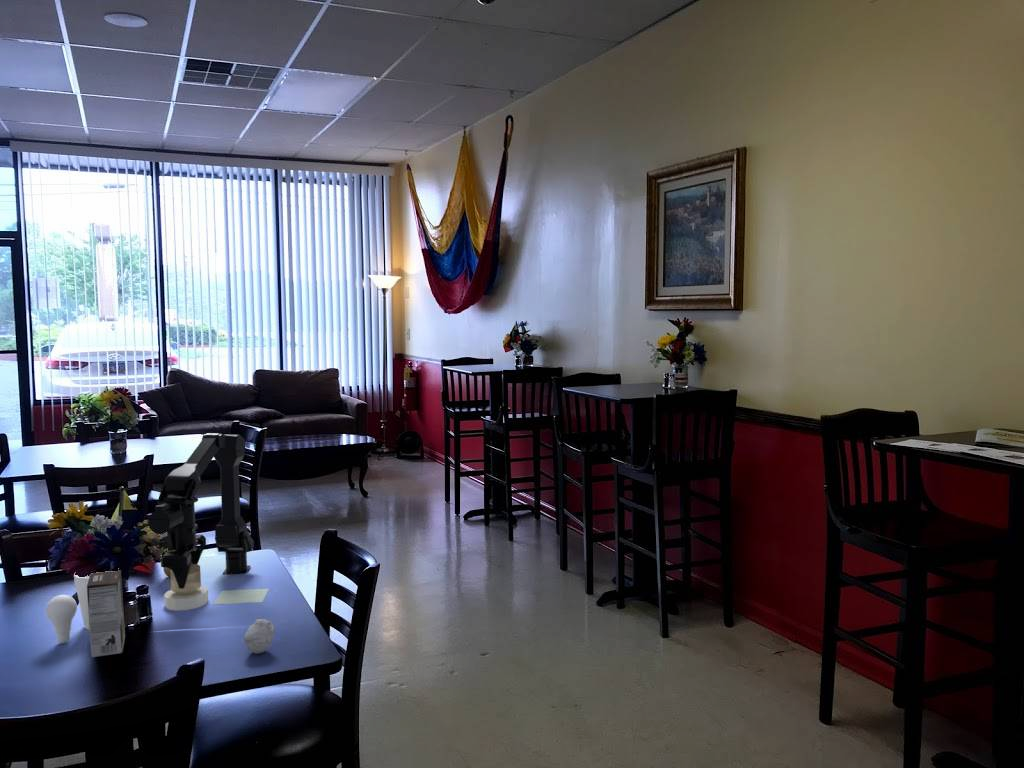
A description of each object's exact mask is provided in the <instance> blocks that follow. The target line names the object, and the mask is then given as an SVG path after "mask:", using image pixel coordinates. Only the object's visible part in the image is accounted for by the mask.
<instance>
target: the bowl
mask: <svg viewBox="0 0 1024 768" xmlns="http://www.w3.org/2000/svg"><path fill="white" fill-rule="evenodd" d="M163 601H164V603H163V604H164V608H165V609H166V610H170V611H176V612H178V611H188V610H193V609H198V608H200V607H203V606H205V605H206V604H207V603H208V602H209V588H207V587H206V586H205V585H201V587H200V588H198V589H196V590H193V591H188V592H174V591H172V590H171V589H170V590H167V591H166V592H165V593H164V595H163Z"/></svg>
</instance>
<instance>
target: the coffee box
mask: <svg viewBox="0 0 1024 768" xmlns="http://www.w3.org/2000/svg"><path fill="white" fill-rule="evenodd" d="M122 582H123V580H122V570H121V569H120V570H118V571H105V572H96V573H91V574H90V577H89V581H88V584H87V596H88V613H89V630H88V632H89V645H90V658H96V657H97V658H98V657H104V656H111V655H117V654H118V655H119V654H122V653H123V650H124V645H125V639H126V629H125V616H124V613H125V612H124V596H123V583H122Z"/></svg>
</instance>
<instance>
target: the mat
mask: <svg viewBox="0 0 1024 768" xmlns="http://www.w3.org/2000/svg"><path fill="white" fill-rule="evenodd" d="M269 590H270V588H253V589H231V590H228V589H227V590H222V591H221V593H220V594H219V595H218V597H217V598H216V600H215V601H214V603H213V605H231V604H232V605H233V604H249V603H250V604H251V603H253V604H254V603H263V601H264V599H265V597H266V595H267V594H268V592H269Z"/></svg>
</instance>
